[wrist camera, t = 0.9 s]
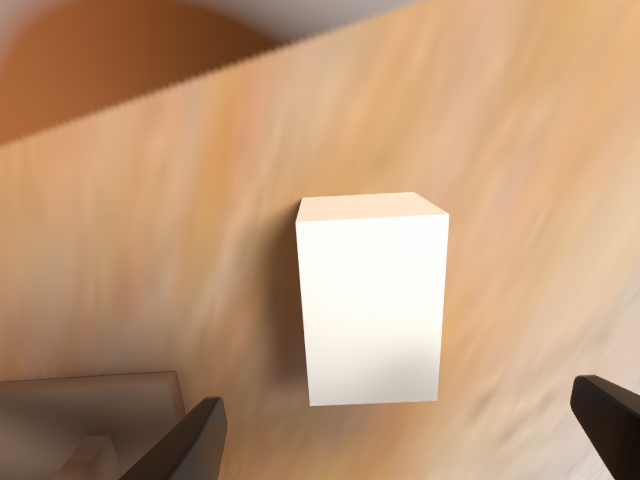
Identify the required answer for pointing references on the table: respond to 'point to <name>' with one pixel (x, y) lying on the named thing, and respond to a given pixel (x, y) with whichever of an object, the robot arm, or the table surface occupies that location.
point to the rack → (84, 424)
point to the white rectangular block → (372, 296)
